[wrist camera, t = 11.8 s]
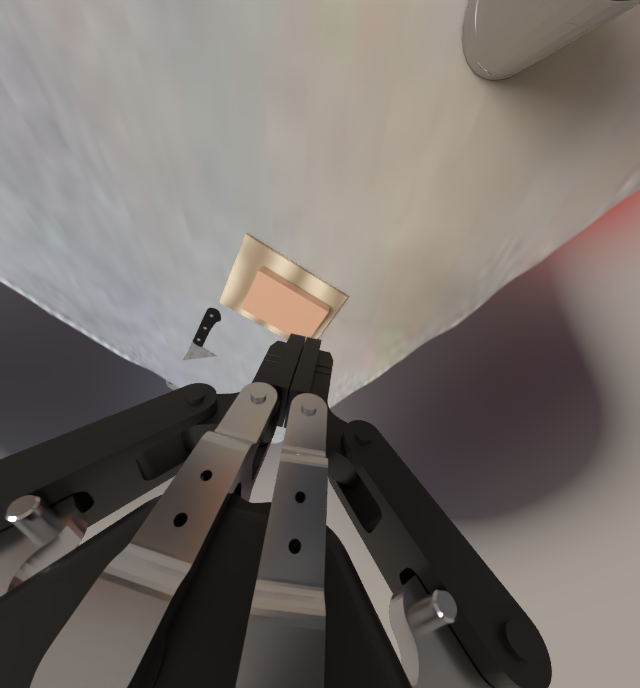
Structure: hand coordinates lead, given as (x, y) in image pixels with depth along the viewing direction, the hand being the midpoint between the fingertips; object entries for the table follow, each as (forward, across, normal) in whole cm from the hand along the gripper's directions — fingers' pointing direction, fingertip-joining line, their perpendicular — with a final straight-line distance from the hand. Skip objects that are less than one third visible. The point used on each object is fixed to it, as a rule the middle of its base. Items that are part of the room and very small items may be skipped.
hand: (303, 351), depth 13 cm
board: (+32, +8, +14) cm, 36 cm away
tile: (+30, +13, +12) cm, 35 cm away
